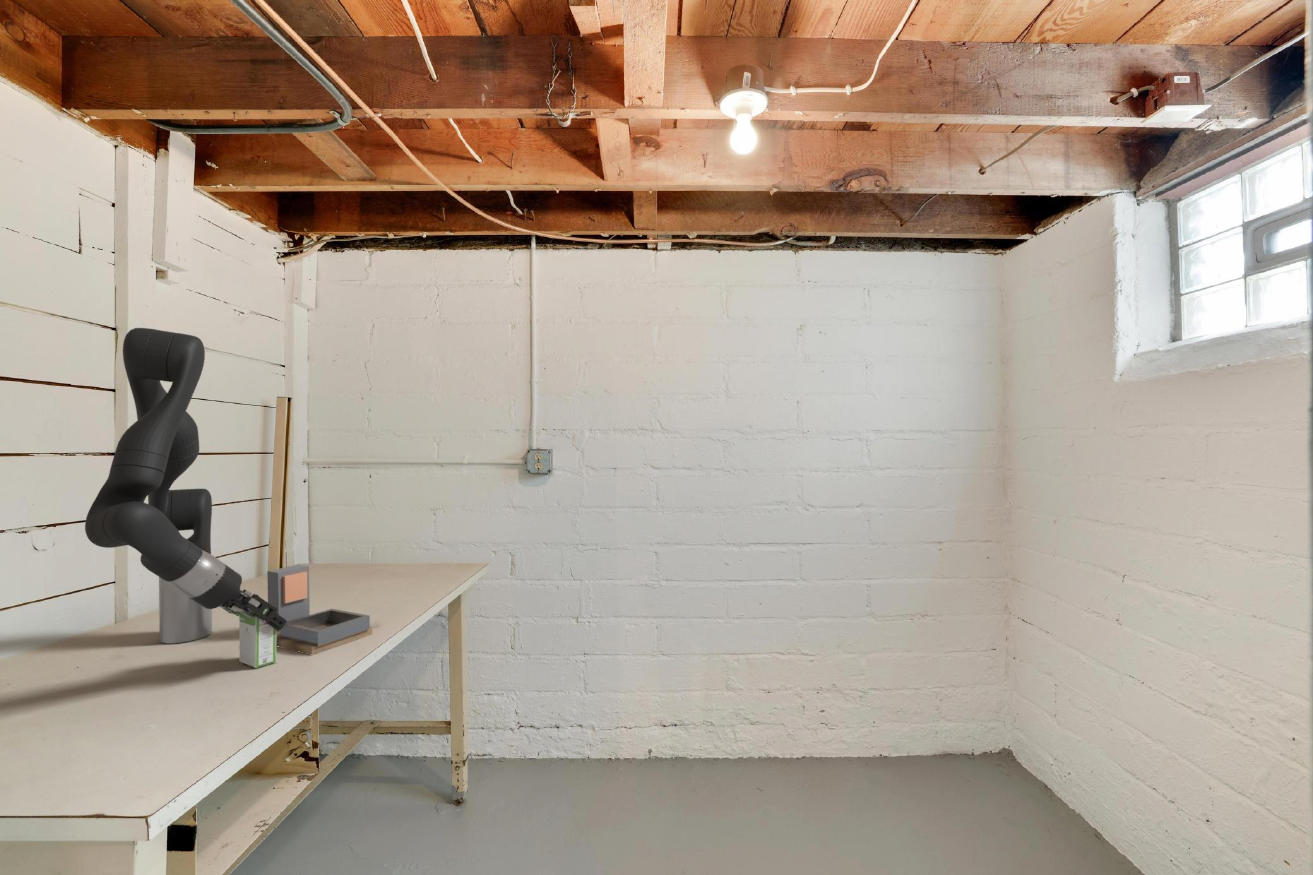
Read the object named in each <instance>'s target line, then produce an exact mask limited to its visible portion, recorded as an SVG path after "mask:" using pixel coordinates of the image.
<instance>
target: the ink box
mask: <svg viewBox="0 0 1313 875" xmlns="http://www.w3.org/2000/svg"><path fill="white" fill-rule="evenodd" d="M266 611H267V610H264V612H263V614H265V612H266ZM248 612H249V613H250V612H252V611H251V610H249V611H248ZM238 617H239V619H238V620H239V626H238V627H239V628H238V629H239V632H238V633H239V659H238V660H239V662H240V663H242V664H245V665H248V666H250V667H253V669H254V668H255V669H258V668H262V667H265V665H266V666H269V664H270V665H272V664H271V663H273V664H275V663H277V646H276V629H274V628H273V627H271V626H270V625H268V624H267V623H265V622H262V621H261V620H260V619H258V618H256V617H253V618H249V617H247V616H245V615H244V614H242V613H239V616H238ZM261 666H262V667H261Z"/></svg>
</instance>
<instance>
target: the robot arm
mask: <svg viewBox="0 0 1313 875" xmlns="http://www.w3.org/2000/svg"><path fill="white" fill-rule="evenodd" d="M205 351H206V350H205V345H204V343H203V341H202V339H201V338H200V337H198V336H196V335H191V334H186V333H179V332H174V331H173V332H172V331H169V330H161V329H155V328H147V327H134V328H132V329H129V331H128V332H127V333H126V335H125V336H124V339H123V344H122V359H123V360H122V361H123V366H124V370H125V373H126V377H127V379H128V384H129V387H130V391H131V394H132V398H133V401H134V407H135V411H136V418H137V420H136V421H135V422H133V424H132V425H130V426H129V427H128V428H127V429H126V430H125V432H124V433H123V434H122V435H121V436H120V438H119V440H118V443H117V445H116V448H115V451H114V455H113V459H112V462H111V464H110V468H109V472H108V476H107V479H106V480H105V482H104V483H103V486H101V488H100V490H99V491H98V494H97V495H96V497H95V499H94V501H93V502H92V504H91V506H90V508H89V510H88V513H87V514H86V518H85V523H84V531H85V534H86V538H87V539H88V540H89V542H90V543H91V544H93V545H95V546H98V547H101V548H106V549H107V548H108V549H110V548H119V547H124V546H129V547H131V548H132V549H135V550H136V551H137V552H138V553H139V554H141V555H140V563H141V565H142V566H143V567H144V568H145V569H146V570H148V571H149V572H151V573H152V574H154V575H155V576H157V577H158V608H159V609H158V615H159V618H158V620H159V626H158V627H159V629H158V630H159V642H160V643H162V644H179V643H185V642H191V641H195V640H199V639H202V638H205V637H208V636H209V635H211V634H212V633H213V609H217V608H222V610H225V612H227V613H228V614H233V615H235V616H236V617H239V613H242V614H244V615H245V616H247V617H249V618H253V617H256V618H258V619H260V620H261V621H262V622H265V623H267V624H268V625H270V626H271V627H273V628H274V629H276V630H281V629H282V628H283V627H284V625H285V624H286V622H287V620H286V619H284V618H283V617H281V616H280V615H278V614H277V613H276V612H277V611H278V610H277V608H275V607H273V606H272V605H270V604H269V603H268V601H267V600H265V599H263V598H262V597H261V596H259V595H258V594H257V593H256V594H255V593H252V592H250V591H248V590H246V589H245V588H244V589H241V585H242V583H243V577H242V575H241V574H240V573H238V572H237V571H235V569H233V568H231V567H230V566H228V565H227V564H226V563H225V562H223V561H221V560H220V559H219V558H217V557H215V555H212V548H211V546H212V545H211V543H212V542H211V536H212V535H211V534H212V533H211V530H212V515H213V501H212V500H213V499H212V495H211V492H210V490H208V489H206V488H184V489H183V488H182V489H170V488H171V487H172V485H173V484H174V483H175V481H177V479H178V478H179V477H181V475H183V474H184V472H186V471H187V470H188V469H189V468H190V467H191V466H192V465H193V464H194V463H195V461H196V459H197V458H198V456H199V454H200V439H199V438H200V437H199V436H200V435H199V428H198V426H197V423H196V421H195V419H194V418H193V417H192V416H191V414H189V413H188V411H187V410H188V408H189V405H190V403H191V400H192V399H193V398H192V397H193V395H194V393H195V390H196V389H197V386H198V383H199V382H200V378H201V375H202V373H203V369H204V364H205V359H206V358H205V357H206V356H205V355H206V354H205V353H206V352H205ZM161 382H167V383H169V382H170V383H171V385H170V388H169V389H168V391H167V390H166V389H165V388H164V387H163V384H162V383H161ZM146 498H147V500H148V501H147V503H146V502H145V500H146ZM190 530H191V531H192V530H193V532H192V533H193V534H191V536H189V537H187V538H186V537H184V536H183V535H182V534H181V533H180V531H190ZM249 610H251V611H252V612H250V613H249V612H248V611H249ZM264 610H266V612H265V614H263V612H264Z"/></svg>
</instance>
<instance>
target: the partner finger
mask: <svg viewBox="0 0 1313 875" xmlns="http://www.w3.org/2000/svg"><path fill="white" fill-rule="evenodd" d="M267 602H268V603H269V604H270V605H272V606H273V607H275V608H277V610H278V611H277V612H276V613H277V614H278V615H280V616H281V617H283V618H284V619H286V620H287V621H290V620H294V619H297V618H301V617H304V616H308V615H311V614H310V612H311V611H310V566H309V565H301V564H296V565H292V566H291V565H290V566H287V567H282V568H276V569H271V570H267ZM276 631H280V630H276Z"/></svg>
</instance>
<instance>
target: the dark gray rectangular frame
mask: <svg viewBox="0 0 1313 875" xmlns="http://www.w3.org/2000/svg"><path fill="white" fill-rule="evenodd" d="M370 616H371V615H369V614H362V613H358V612H353V611H346V610H342V609H338V608H337V609H336V608H330V609H326V610H323V611H322V610H321V611H319V612H315V613H312V614H310V615H308V616H304V617H301V618H297V619H294V620H290V621H287V622H286V624H285V625H284V627H283V628H282V629H281V630H280V638H284V639H288V640H292V641H296V642H301V643H305V644H309V645H313V646H321V645H324V644H327V643H330V642H333V641H336V640H339V639H342V638H345V637H348V636H351V635H354V634H356V633H359V632H362V631H365V630H368V629H370V627H371V622H370V619H371V618H370ZM330 623H332V624H336V625H333V626H330V627H327V628H324V629H320V630H318V629H314V628H317V627H320V626H324V625H327V624H330Z"/></svg>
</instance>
